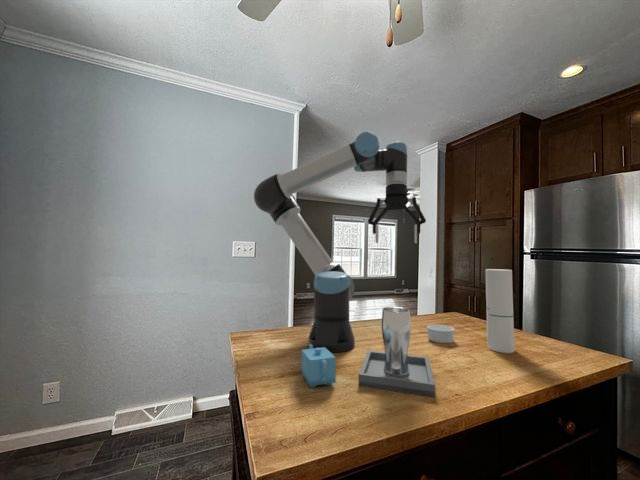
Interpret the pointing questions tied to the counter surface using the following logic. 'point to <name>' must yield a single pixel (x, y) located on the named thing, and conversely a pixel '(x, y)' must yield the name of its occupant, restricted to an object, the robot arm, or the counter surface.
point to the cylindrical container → (499, 310)
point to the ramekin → (440, 333)
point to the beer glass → (396, 340)
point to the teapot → (318, 366)
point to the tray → (412, 383)
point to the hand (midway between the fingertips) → (395, 242)
